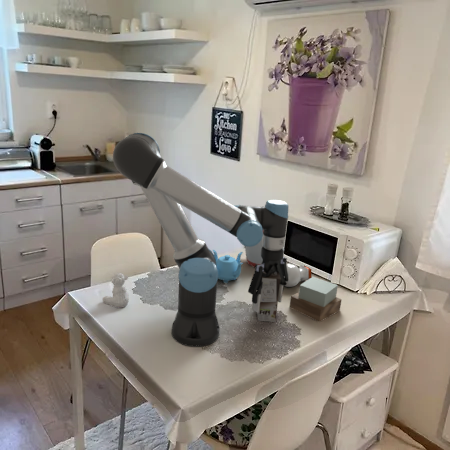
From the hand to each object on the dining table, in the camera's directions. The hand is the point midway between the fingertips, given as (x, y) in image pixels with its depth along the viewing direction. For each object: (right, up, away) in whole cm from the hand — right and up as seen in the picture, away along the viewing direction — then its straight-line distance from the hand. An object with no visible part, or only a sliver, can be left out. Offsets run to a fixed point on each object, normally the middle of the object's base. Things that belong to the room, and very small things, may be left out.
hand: (266, 305), depth 149 cm
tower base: (+18, -3, +8) cm, 20 cm away
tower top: (+19, +2, +6) cm, 20 cm away
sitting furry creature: (-52, 0, +2) cm, 52 cm away
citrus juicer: (+1, +11, +46) cm, 47 cm away
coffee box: (0, -4, +1) cm, 4 cm away
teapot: (-14, +6, +27) cm, 32 cm away
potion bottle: (+13, +4, +27) cm, 30 cm away
